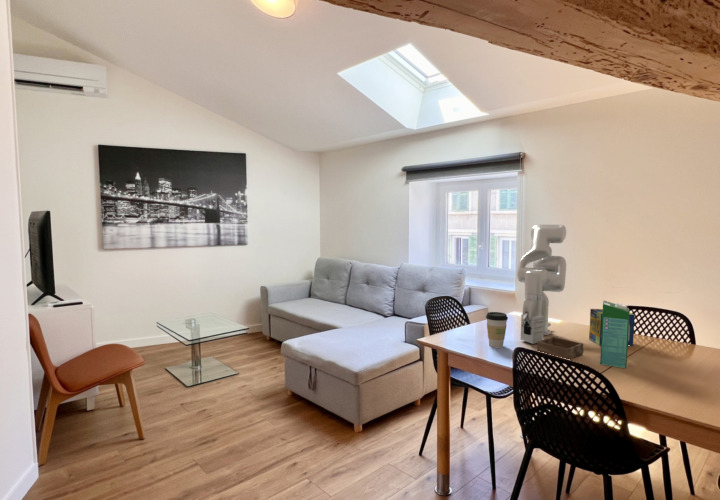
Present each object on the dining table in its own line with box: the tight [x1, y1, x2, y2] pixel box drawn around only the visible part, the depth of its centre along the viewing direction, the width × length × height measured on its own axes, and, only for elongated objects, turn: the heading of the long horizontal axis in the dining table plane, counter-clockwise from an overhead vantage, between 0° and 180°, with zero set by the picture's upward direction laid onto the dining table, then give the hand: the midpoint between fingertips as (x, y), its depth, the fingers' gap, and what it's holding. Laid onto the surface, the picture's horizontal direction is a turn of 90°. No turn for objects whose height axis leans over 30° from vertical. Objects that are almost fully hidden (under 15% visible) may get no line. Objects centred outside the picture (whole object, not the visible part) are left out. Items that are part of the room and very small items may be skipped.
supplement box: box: [520, 314, 544, 345], centre depth 194 cm, size 7×7×13 cm
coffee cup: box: [485, 311, 509, 349], centre depth 190 cm, size 10×10×15 cm
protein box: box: [588, 308, 636, 347], centre depth 194 cm, size 10×15×16 cm
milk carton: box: [599, 300, 630, 369], centre depth 166 cm, size 9×9×25 cm
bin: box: [536, 336, 584, 361], centre depth 178 cm, size 13×13×5 cm
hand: (532, 332), depth 195 cm, fingers closed on supplement box, 8 cm apart
